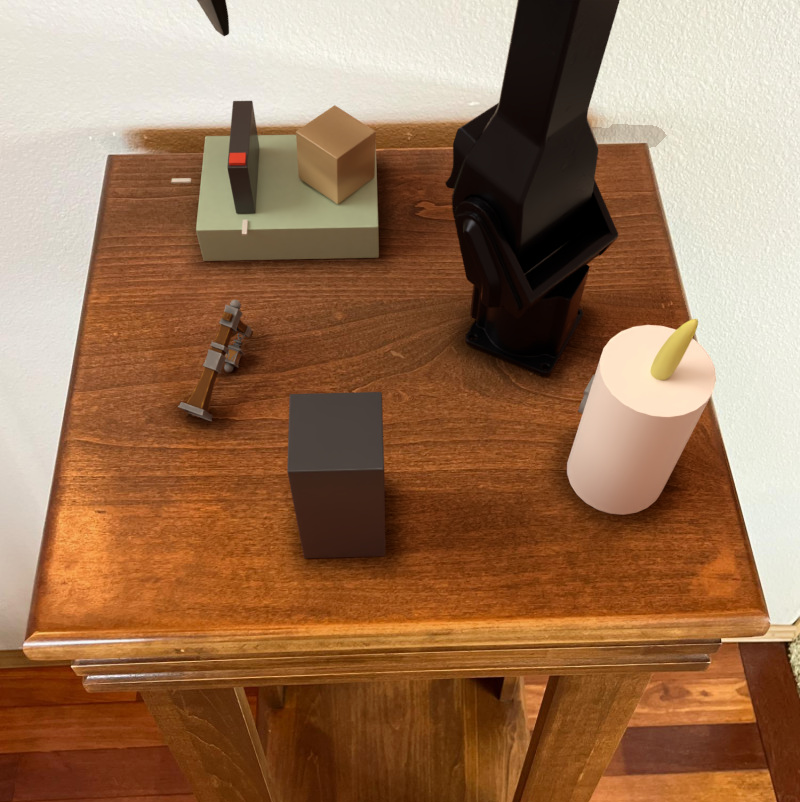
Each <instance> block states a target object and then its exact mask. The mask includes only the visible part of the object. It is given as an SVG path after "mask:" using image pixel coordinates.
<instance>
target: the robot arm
mask: <svg viewBox="0 0 800 802" xmlns="http://www.w3.org/2000/svg"><path fill="white" fill-rule="evenodd" d="M196 1H197V3H198V4H199V6H200V9H201V10H202V11H203V12H204V14H205V16H206V18H207V19H208V21H209V22H210V24H211V25H212V27H213V28H214V30H215V31H216V32H217V33H219V34H220V35H221V36H223V37H227V36H228V35H230V22H229V21H230V19H229V11H228V5H227V1H226V0H196ZM620 1H621V0H517V2H516V7H515V13H514V18H513V24H512V30H511V35H510V40H509V46H508V51H507V56H506V62H505V68H504V72H503V79H502V83H501V90H500V95H499V100H498V102H497V103H495V104H494V105H492V106H491V107H489V108H488V109H486V110H485V111H483V112H481V113H480V114H478V115H477V116H475V117H474V118H473V119H471V120H470V121H468V122H467V123H465V124H463V125H462V126H460V127H459V128H457V130H456V133H455V136H454V140H453V143H452V169H451V172H450V175H449V177H448V179H447V180H446V181H445V187H446V188H448V189H452V190H453V191H452V195H451V211H452V215H453V220H454V224H455V231H456V235H457V239H458V244H459V249H460V254H461V258H462V264H463V269H464V272H465V278H466V281H468V282H469V283H470V284H472V294H471V303H470V312H469V315H470V317H471V319H473V320H474V322H473V324H472V325H471V326H470V328H469V330H468V331H467V333H466V334H465V336H464V343H465V344H466V345H467V346H469V347H471V348H473V349H476V350H479V351H481V352H483V353H486V354H487V355H491V356H493V357H495V358H498V359H500V360H501V361H504V362H506V363H509V364H511V365H515V366H517V367H518V368H519V367H520V368H522V369H524V370H527V371H529V372H532V373H534V374H536V375H539V376H541V377H548V376H550V375H551V374H552V373H553V371H554V369H555V367H556V366H557V364H558V362H559V360H560V358H561V357H562V355H563V353H564V351H565V350H566V348H567V346H568V345H569V342H570V341H571V339H572V337H573V335H574V334H575V332H576V330H577V329H578V327H579V325H580V324H581V322H582V319H583V316H584V310H583V309H581V308H580V305H581V302H582V298H583V294H584V291H585V287H586V283H587V279H588V275H589V271H590V268H591V267H590V265H589V263H591V262H592V261H593V260H595V259H596V258H597V257H599V256H602V255H603V254H605V253H606V252H607V251H608V249H610V248H611V246H612V245H613V244H614V243H615V242H616V241H617V240H618V238H619V232H618V230H617V227H616V224H615V222H614V221H613V218H612V216H611V213H610V211H609V209H608V207H607V204H606V202H605V199H604V197H603V195H602V192H601V190H600V188H599V185H598V184H597V181H596V179H595V178H596V172H597V171H596V170H597V164H598V156H599V144H598V141H597V138H596V136H595V133H594V131H593V129H592V126H591V123H590V120H589V118H588V113H589V107H590V104H591V100H592V98H593V94H594V90H595V87H596V83H597V80H598V78H599V77H598V76H599V73H600V70H601V68H602V67H601V66H602V63H603V60H604V57H605V52H606V49H607V46H608V42H609V39H610V36H611V32H612V28H613V25H614V22H615V18H616V15H617V11H618V8H619V4H620Z"/></svg>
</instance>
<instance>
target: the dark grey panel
mask: <svg viewBox="0 0 800 802" xmlns="http://www.w3.org/2000/svg"><path fill="white" fill-rule="evenodd" d="M231 108H232V109H231V119H230V121H231V122H230V133H229V136H230V142H229V154H228V165H227V169H228V174H229V179H230V185H231V190H232V195H233V200H234V205H235V210H236V213H237V214H238V213H255V212H256V196H257V180H258V164H259V148H260V147H259V141H258V135H259V134H258V128H257V122H256V116H255V110H254V102H253V100H233V101H232V107H231Z"/></svg>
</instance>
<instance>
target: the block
mask: <svg viewBox="0 0 800 802" xmlns="http://www.w3.org/2000/svg"><path fill="white" fill-rule="evenodd" d="M295 135H296V142H297V159H298V176H299V178H300V179H301V180H303V181H304V182H306V183H307V184H309V185H310V186H311V187H313V188H314V189H316V190H317V191H319V192H320V193H322V194H323V195H325V196H326V197H328V198H329V199H331V200H332V201H334V202H335V203H337V204H339V203H340V202H342V201H343V200H345V199H346V198H347V197H349V196H350V195H351V194H353V193H354V192H355V191H357V190H358V189H359V188H361V187H362V186H364V185H365V184H366V183H368V182H369V181H370V180H372V179H373V178H374V173H375V141H376V139H377V138H376V137H377V131H376V130H375V129H373V128H372V127H370V126H368V125H367V124H366V123H363V122H362V121H360V120H359V119H358V118H356V117H354V116H353V115H351V114H349V113H348V112H346V111H345V110H344V109H342V108H341V107H339V106H337V105H335V104H334V105H333V106H331V107H330V108H329V109H327V110H325V111H324V112H322V113H321V114H319V115H318V116H316V117H315V118H313V119H312V120H311V121H309V122H307V123H306V124H305V125H303V126H301V127H300V128H298V129H297V130H296V131H295ZM376 142H377V141H376Z"/></svg>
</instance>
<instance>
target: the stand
mask: <svg viewBox="0 0 800 802" xmlns="http://www.w3.org/2000/svg"><path fill="white" fill-rule="evenodd" d="M383 413H384V412H383V393H382V391H364V392H362V391H356V392H321V393H320V392H318V393H317V392H315V393H314V392H313V393H290V394H289V400H288V434H287V435H288V437H287V468H286V470H287V471H286V472H287V477H288V482H289V487H290V493H291V498H292V503H293V507H294V513H295V519H296V524H297V530H298V534H299V539H300V544H301V545H300V546H301V549H302V557H303V559H328V558H329V559H331V558H332V559H334V558H365V557H366V558H369V557H370V558H371V557H385V556H386V499H385V495H386V493H385V492H386V490H385V487H386V485H385V447H384V446H385V445H384V444H385V443H384V418H383V417H384V416H383V415H384V414H383Z"/></svg>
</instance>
